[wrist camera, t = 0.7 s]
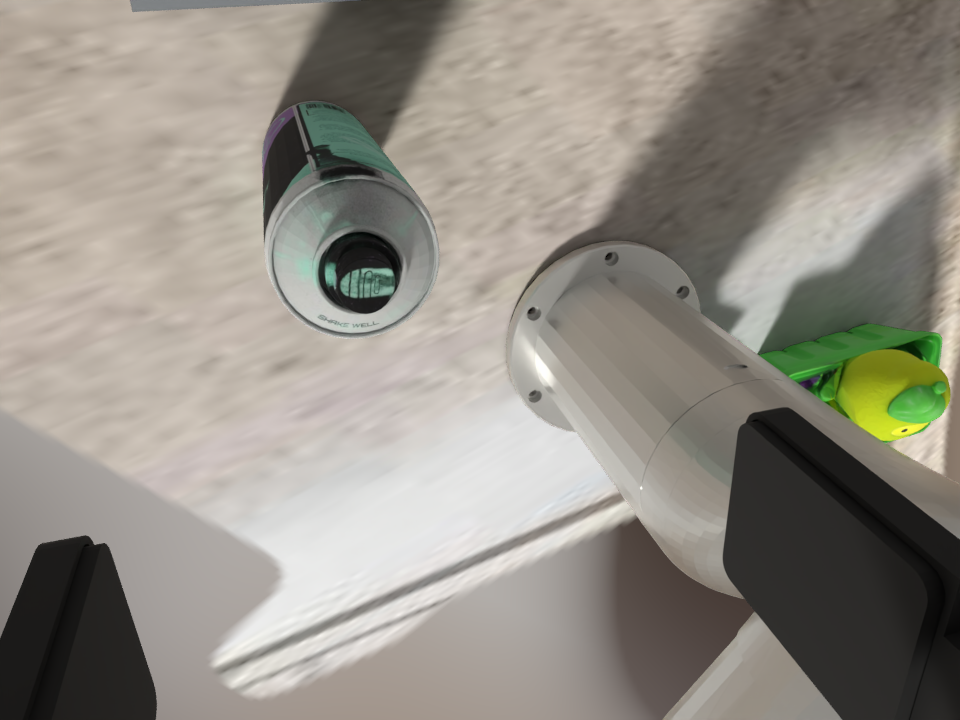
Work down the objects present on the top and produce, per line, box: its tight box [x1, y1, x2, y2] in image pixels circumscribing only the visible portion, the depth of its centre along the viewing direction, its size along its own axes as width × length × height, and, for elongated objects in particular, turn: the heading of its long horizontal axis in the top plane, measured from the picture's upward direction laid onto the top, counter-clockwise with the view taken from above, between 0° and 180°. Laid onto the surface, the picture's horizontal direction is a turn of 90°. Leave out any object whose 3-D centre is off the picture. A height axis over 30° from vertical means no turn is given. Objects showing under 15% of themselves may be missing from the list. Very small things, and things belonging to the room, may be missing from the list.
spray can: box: [262, 101, 439, 339], centre depth 30 cm, size 6×6×20 cm
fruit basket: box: [759, 324, 950, 443], centre depth 48 cm, size 11×9×11 cm
